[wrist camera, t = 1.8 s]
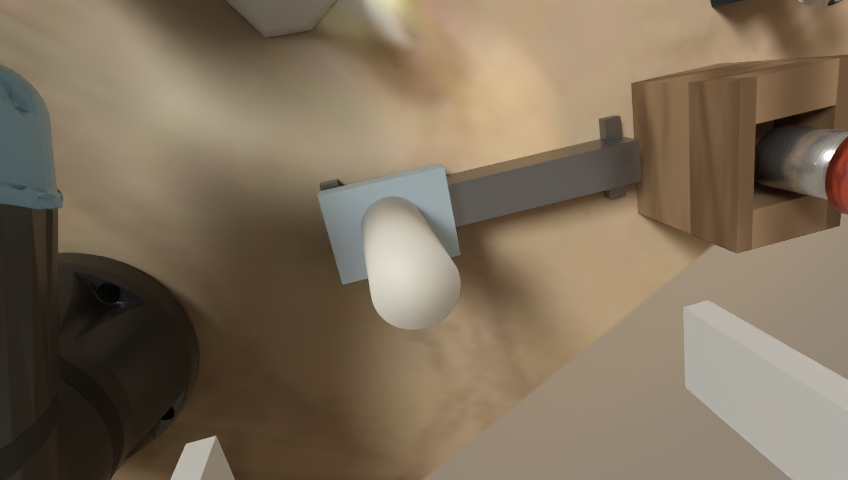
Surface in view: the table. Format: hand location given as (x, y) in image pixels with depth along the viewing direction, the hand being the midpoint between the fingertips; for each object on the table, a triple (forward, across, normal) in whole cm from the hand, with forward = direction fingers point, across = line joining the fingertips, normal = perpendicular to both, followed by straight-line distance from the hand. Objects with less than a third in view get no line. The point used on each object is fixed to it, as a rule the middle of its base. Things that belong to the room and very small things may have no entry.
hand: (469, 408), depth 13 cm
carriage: (+21, 0, 0) cm, 21 cm away
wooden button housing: (+23, +23, 0) cm, 32 cm away
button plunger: (+14, +23, 0) cm, 27 cm away
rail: (+23, +7, 0) cm, 24 cm away
